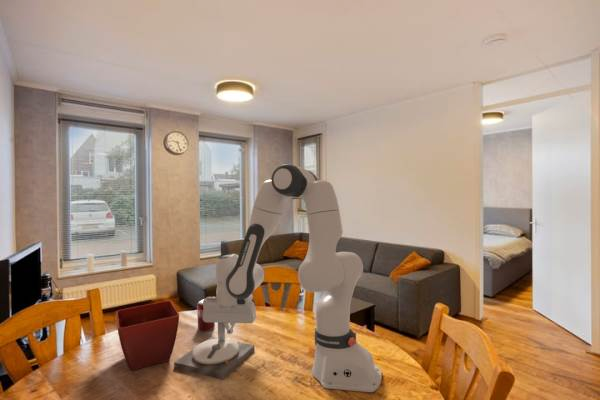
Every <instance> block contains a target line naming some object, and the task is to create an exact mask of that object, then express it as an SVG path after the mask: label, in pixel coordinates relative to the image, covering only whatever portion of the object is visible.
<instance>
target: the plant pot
mask: <svg viewBox="0 0 600 400" xmlns="http://www.w3.org/2000/svg"><path fill="white" fill-rule="evenodd" d="M115 315H116V325H117V328H116V329H117V333H118V339H119V343H120V347H121V351H122V353H123V356H124V360H125V363H126V364H127V367H128V370H130V371H136V370H138V369H143V368H145V367H150V366H153V365H156V364H159V363H164V362H167V361H169V360H170V359H171V356H172V354H173V351H174V347H175V345H176V343H175V342H176V340H177V334H178V329H179V323H180V322H179V319H180V313H179V312H178V310H177V308H176V307H175V305H174V304H173V302H172V301H171V300H166V301H165V300H164V301H159V302H154V303H149V304H144V305H138V306H132V307H128V308H123V309H118V310H116V311H115Z"/></svg>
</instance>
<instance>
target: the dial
mask: <svg viewBox="0 0 600 400" xmlns="http://www.w3.org/2000/svg"><path fill="white" fill-rule="evenodd" d="M215 338H216V339H211V340H207V339H206V340H207V341H206V340H205V342H204V341H202V342H201V343H199V344H197V345H196V346H195V347H194V348H193V349H194V350H193V349H192V350H193V359H194V360H195V361H196V362H198V363H201V364H219V363H223V362H225V361H227V360H230V359H232V358H234V357H235V356H236V355H237V354H238V352H239V344H238V343H237V342H238V341H236V340H235V339H232V338H228V337H227V338H226V328H225V327H224V323H219V322H217V337H215Z"/></svg>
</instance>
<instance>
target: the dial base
mask: <svg viewBox="0 0 600 400" xmlns="http://www.w3.org/2000/svg"><path fill="white" fill-rule="evenodd" d="M216 338H217V337H212V336H210V337H209V338H207V339H206V340H205V341H207V340H211V339H216ZM205 341H203V342H205ZM236 342H237V343H238V344H239V352H238V354H237V355H236V356H235V357H234V358H232V359H230V360H227V361H225V362H223V363H219V364H201V363H198V362H196V361H195V360H194V359H193V350H194V348H193V349H191V350H190V351H189V352H187V353H186V354H184V355H183V356H181V357H180V358H178V359H177V360H175V361H173V367H174V369H176V370H180V371H185V372H189V373H192V374H193V373H194V374H197V375H202V376H206V377H209V378H215V379H219V380H223V381H224V380H225V379H226V378H227V377H228V376H230V374H231V373H233V371H234V370H236V369H237V368H238V366H240V365H241V364H242V363H243V362H244V361H245V360H246V359H247V358H248V357H249V356H251V354H252V353H253V352H254V351H255V344H252V343H251V344H250V343H246V342H245V343H244V342H241V341H236Z"/></svg>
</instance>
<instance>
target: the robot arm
mask: <svg viewBox="0 0 600 400" xmlns="http://www.w3.org/2000/svg"><path fill="white" fill-rule="evenodd" d="M254 199H255V200H254V202H253V207H252V210H251V213H250V219H249V222H248V226H247V229H246V233H245V237H244V239H243V242H242V245H241V248H240V251H239V254H237V253H229V254H226V255H222V256H220V257H219V258H218V259H217V260H216V264H215V265H216V267H215V280H216V284H217V285H216V292H215V293H216V296H206V297H205V298H204V299H202V300H203V307H204V308H203V321H204V322H215V323H218V322H219V323H224V327H225V331H226V334H227V335H233V333H234V327H235V325H236V324H253V323H254V322H255V321H256V319H257V311H256V304H255V303H254V301H253V299H254V295H253V292H254V291H256V289H258V287H259V286H261V284H262V283H263V282H264V280H265V276H266V275H265V274H266V273H265V269H264V268H263V266H262V265H261V264H259V263H257V261H258V257H259V255H260V252H261V249H262V247H263V245H264V243H265V242H266V241H267V240H268V239H269V238H270V237H271V236H272V235H273V234H274V233H275V232H276V231H277V229H278V227H279V225H280V223H281V220H282V218H283V213H284V210H285V206H286V204H287V202H288V201H289V200H290V199H292V200H302V201H303V202H304V205H305V211H306V218H307V225H308V226H307V227H308V234H309V235H308V236H309V240H308V249H307V252H306V255H305V258H304V260H303V261H302V262H301V264H300V265H299V267H298V271H297V278H298V281H299V284H300V286H301V287H302V289H304V291H306V292H307V293H322V296H321V297H320V298H319V300H318V301H317V303H316V306H315V328H314V345H315V353H314V361H313V364H312V368H311V374H312V376H313V377H314V378H315V379H316V380H318V382H320V384H321V387H323V388H324V389H329V390H341V391H343V390H344V391H350V392H351V391H353V392H364V393H373V392H375V391H377V390H378V389H379V387H380V386H381V383H382V378H383V374H382V370H381V368H380V367H379V366H378V365H377V364H375V363H374V358H373V355H372V353H371V352H370V351H369V350H367V349H366V348H365V347H364V346H363V345H361V344H360V343H359V342H358V341H357V331H356V330H355V331H353V330H352V329H351V325H350V321H351V320H350V318H351V314H350V313H351V302H352V298H353V294H354V291H355V288H356V284H357V283H358V281H359V279H360V278H361V276H362V275H363V273H364V264H363V263H364V262H363V261H362V258H361V257H360V256H359V255H358V254H356V253H355V252H352V251H339V252H337V251H336V250H337V245H338V242H339V240H340V239H341V237H342V236H343V225H342V218H341V212H340V207H339V203H338V202H339V201H338V198H337V194H336V191H335V189H334V186H333V185H332V184H331V183H330V181H327V180H321V179H319V180H318V178H317V176H316V175H315V174H314V173H313V172H312V171H311V170H308V169H305V168H304V167H302V166H298V165H293V164H290V163H287V164H285V163H284V164H281V165H280V166H277V167H276V168H275V169H274V171H273V172H272V174H271V179H268V180H265V181H263V183H262V184H261V186H260V187H259V190H258V192H257V194H256V196H255V198H254ZM205 299H206V300H205Z"/></svg>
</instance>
